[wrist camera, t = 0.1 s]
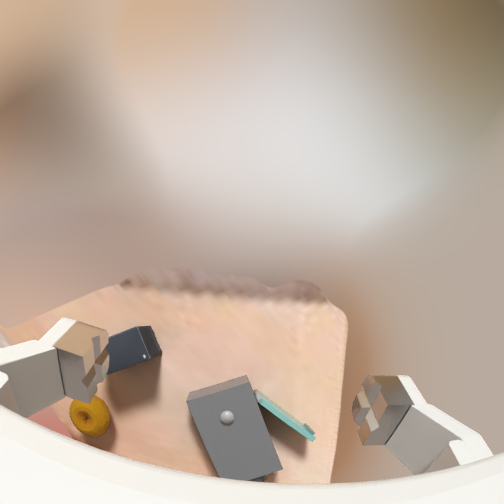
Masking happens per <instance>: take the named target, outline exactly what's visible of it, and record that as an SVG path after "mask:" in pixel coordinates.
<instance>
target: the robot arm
mask: <svg viewBox="0 0 504 504" xmlns="http://www.w3.org/2000/svg"><path fill="white" fill-rule="evenodd" d="M108 342H109V341H108V332H107V331H106V330H104V329H101V328H98V327H95V326H92V325H88V324H85V323H82V322H78V321H76V320H73V319H70V318H67V317H64V318H61V319H60V320H59V321H58V322H57V323H56V324H55V325H54V326H53V327H52V328H51V329H50V330H49V331H48V332H47V333H46V334H45V335H44V336H43V337H42V338H41V339H40V340H39V341H36V340H32V341H28V342H24V343H20V344H16V345H13V346H9V347H5V348H1V349H0V504H504V452H503V453H500V454H497V455H493V454H492V452H491V451H490V449H489V448H488V446H487V445H486V443H485V442H484V440H483V439H482V437H481V436H480V435H479V434H478V433H476V432H475V431H473V430H471V429H470V428H468V427H466V426H465V425H463V424H462V423H460V422H458V421H457V420H455V419H454V418H452V417H450V416H449V415H447V414H445V413H444V412H442V411H441V410H439V409H437V408H436V407H434V406H432V405H430V404H429V405H428V404H427V403H426V401H425V400H424V398H423V397H422V395H421V393H420V392H419V390H418V389H417V387H416V386H415V384H414V383H413V381H412V380H411V378H410V377H409V376H407V375H405V376H404V375H402V376H401V375H399V376H398V375H395V376H383V375H382V376H381V375H368V376H367V377H366V378H365V379H364V381H363V383H362V387H363V390H362V391H361V392H360V393H358V394H357V395H356V397H355V400H354V402H353V407H352V416H353V419H354V422H356V423H357V424H358V425H359V426H360V427H359V429H358V434H359V436H360V439H361V442H362V444H363V445H385V447H386V448H388V450H390V451H391V452H392V453H393V454H394V455H395V456H396V457H397V458H398V459H399V460H400V461H401V462H402V463H403V464H404V465H405V466H406V467H407V468H408V469H409V470H410V471H411V472H412V473H413V474H415V475H412V476H406V477H400V478H393V479H384V480H376V481H366V482H354V483H335V484H334V483H333V484H287V483H267V482H254V481H244V480H234V479H226V478H219V477H212V476H206V475H200V474H194V473H189V472H184V471H179V470H174V469H169V468H165V467H160V466H156V465H152V464H148V463H144V462H141V461H137V460H133V459H130V458H126V457H123V456H120V455H116V454H113V453H110V452H107V451H104V450H101V449H98V448H95V447H93V446H90V445H87V444H84V443H82V442H79V441H76V440H74V439H71V438H69V437H66V436H64V435H62V434H59V433H57V432H54V431H52V430H50V429H48V428H45V427H43V426H41V425H39V424H37V423H35V422H33V421H31V420H29V419H27V417H29V416H31V415H33V414H35V413H36V412H38V411H40V410H42V409H44V408H46V407H48V406H50V405H51V404H53V403H55V402H57V401H59V400H61V399H63V398H64V397H65V396H67V397H70V398H73V399H76V400H79V401H82V402H85V403H88V404H90V402H91V401H92V399H93V397H94V396H95V394H96V392H97V391H98V390H97V384H98V383H100V382H103V380H104V378H105V377H106V374H107V371H108V367H109V353H108V352H107V350H106V348H105V347H106V345H107V344H108Z"/></svg>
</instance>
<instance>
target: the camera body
mask: <svg viewBox="0 0 504 504" xmlns="http://www.w3.org/2000/svg"><path fill="white" fill-rule="evenodd" d="M186 402H187V404H188V407H189V409H190V412H191V414H192V417H193V419H194V421H195V424H196V426H197V429H198V431H199V433H200V436H201V438H202V440H203V443H204V445H205V447H206V449H207V452H208V454H209V456H210V458H211V460H212V462H213V465H214V467H215V469H216V471H217V473H218V475H219V477H220V478H226V479H234V480H244V481H254V482H263V481H264V480H266V478H267V477H268V474H270V473H273V472H276V471H279V470H282V469H283V468H282V465H281V463H280V460H279V458H278V455H277V453H276V450H275V448H274V445H273V443H272V440H271V438H270V435H269V432H268V430H267V427H266V425H265V422H264V419H263V417H262V414H261V411H260V409H259V406H258V403H257V401H256V398H255V395H254V393H253V390H252V387H251V384H250V382H249V380H248V377H247V375H245V376H242V377H239V378H236V379H232V380H229V381H226V382H223V383H220V384H217V385H213V386H210V387H207V388H203V389H200V390H196V391H193V392H190V393H189V396H188V398H187V401H186Z"/></svg>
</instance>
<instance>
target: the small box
mask: <svg viewBox="0 0 504 504" xmlns="http://www.w3.org/2000/svg"><path fill="white" fill-rule="evenodd" d="M108 341H109V342H108V344H107V345H106V347H105V348H106V350H107V352H108V353H109V367H108V371H107V374H106V375H108V374H111V373H114V372H117V371H119V370H122V369H125V368H128V367H130V366H133V365H136V364H139V363H141V362H144V361H147V360H149V359H151V358H153V357H155V356H157V355H159V354H162V351H161V349H160V347H159V344H158V342H157V340H156V337H155V335H154V332H153V330H152V328H151V326H140V327H134V328H131V329H129V330H126V331H123V332H121V333H118V334H115V335H113V336H110V337H108Z"/></svg>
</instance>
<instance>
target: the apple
mask: <svg viewBox="0 0 504 504" xmlns="http://www.w3.org/2000/svg"><path fill="white" fill-rule="evenodd" d="M70 418H71V420H72V422H73V424H74V425H75V427H76V428H77V429H78V430H79V431H80V432H81V433H83V434H85V435H90V436H100V435H102V434H103V433H105V432H106V430H107V428H108V426H109V423H110V418H111V415H110V411H109V409H108V406H107V405H106V404H105V402H104V401H103V400H101V399H100V398H99V397H97V396H94V397H93V399H92V401H91V402H90V404H88V403H85V402H82V401H79V400H76V399H74V400H73V402H72V404H71V406H70Z"/></svg>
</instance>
